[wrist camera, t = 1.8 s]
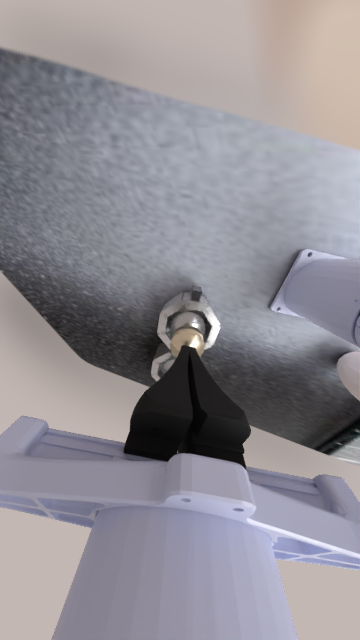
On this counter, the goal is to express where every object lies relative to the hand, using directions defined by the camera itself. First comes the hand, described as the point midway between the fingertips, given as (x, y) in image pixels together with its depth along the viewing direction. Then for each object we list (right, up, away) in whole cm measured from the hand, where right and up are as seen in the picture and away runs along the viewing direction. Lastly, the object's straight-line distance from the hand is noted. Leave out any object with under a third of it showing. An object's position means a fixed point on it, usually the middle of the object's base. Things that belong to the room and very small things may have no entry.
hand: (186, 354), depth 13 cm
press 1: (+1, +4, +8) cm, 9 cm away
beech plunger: (0, +2, +5) cm, 6 cm away
